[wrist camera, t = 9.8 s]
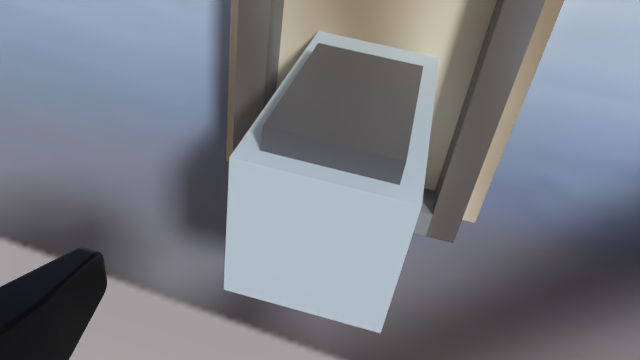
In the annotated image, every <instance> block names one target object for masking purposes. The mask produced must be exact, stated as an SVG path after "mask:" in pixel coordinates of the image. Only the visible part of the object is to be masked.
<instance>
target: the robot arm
mask: <svg viewBox="0 0 640 360" xmlns="http://www.w3.org/2000/svg"><path fill="white" fill-rule="evenodd" d="M106 286H107V277H106V271H105V265H104V259H103V255H102V254H101V253H100V252H98V251H94V250H90V249H87V248H78V249H75V250H73V251H71V252H69V253H67V254H65V255H63V256H61V257H59V258H57V259H55V260H53V261H51V262H49V263H47V264H45V265H43V266H41V267H39V268H37V269H35V270H33V271H31V272H29V273H27V274H25V275H23V276H21V277H19V278H17V279H15V280H13V281H11V282H9V283H7V284H5V285H3V286H1V287H0V360H69V358H70V356H71V355H72V353H73V351H74V349H75V347H76V345H77V343H78V342H79V340H80V338H81V336H82V334H83V332H84V330H85V329H86V327H87V325H88V323H89V321H90V319H91V317H92V316H93V314H94V312H95V310H96V308H97V306H98V304H99V302H100V301H101V299H102V297H103V295H104V293H105V290H106Z"/></svg>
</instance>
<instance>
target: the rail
mask: <svg viewBox="0 0 640 360" xmlns="http://www.w3.org/2000/svg"><path fill="white" fill-rule="evenodd" d="M563 2H564V0H231V10H230V43H229V77H228V110H227V143H226V162H229V157H230V156H231V154H232V153H233V151H234V150H235V149H236V147H237V146H238V144H239V143H240V142H241V140H242V139H243V137H244V136H245V134H246V133H247V132H248V130H249V129H250V127H251V126H252V125H253V123H254V122H255V120H256V119H257V117H258V116H259V115H260V113H261V112H262V110H263V109H264V108H265V106H266V105H267V103H268V102H269V100H270V99H271V98H272V96H273V95H274V93H275V92H276V90H277V89H278V88H279V86H280V85H281V83H282V82H283V81H284V79H285V78H286V76H287V75H288V73H289V72H290V71H291V69H292V68H293V66H294V65H295V64H296V62H297V61H298V59H299V58H300V56H301V55H302V54H303V52H304V51H305V49H306V48H307V46H308V45H309V44H310V42H311V41H312V39H313V38H314V37H315V35H316V34H317V32H318V31H321V32H326V33H330V34H335V35H339V36H344V37H349V38H353V39H358V40H362V41H367V42H371V43H376V44H380V45H385V46H390V47H394V48H399V49H403V50H408V51H412V52H417V53H421V54H426V55H431V56H435V57H439V65H438V74H437V82H436V91H435V99H434V108H433V116H432V125H431V133H430V142H429V150H428V159H427V167H426V176H425V184H424V193H423V201H422V207H421V210H420V213H419V216H418V219H417V222H416V226H415V229H414V232H413V233H415V234H419V235H423V236H427V237H431V238H435V239H439V240H443V241H447V242H451V243H453V242H454V239H455V237H456V234H457V232H458V229H459V226H460V224H461V221H462V220H466V221H470V222H474V223H475V221H476V219H477V216H478V214H479V211H480V209H481V206H482V204H483V201H484V199H485V196H486V194H487V191H488V189H489V186H490V184H491V181H492V179H493V176H494V174H495V171H496V169H497V166H498V164H499V161H500V159H501V156H502V154H503V151H504V149H505V147H506V144H507V142H508V139H509V137H510V134H511V132H512V129H513V127H514V124H515V122H516V119H517V117H518V114H519V112H520V109H521V107H522V104H523V102H524V99H525V97H526V94H527V92H528V89H529V87H530V84H531V82H532V79H533V77H534V74H535V72H536V69H537V67H538V64H539V62H540V59H541V57H542V54H543V52H544V49H545V47H546V44H547V42H548V39H549V37H550V34H551V32H552V29H553V27H554V24H555V22H556V19H557V17H558V14H559V12H560V9H561V7H562V5H563Z"/></svg>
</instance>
